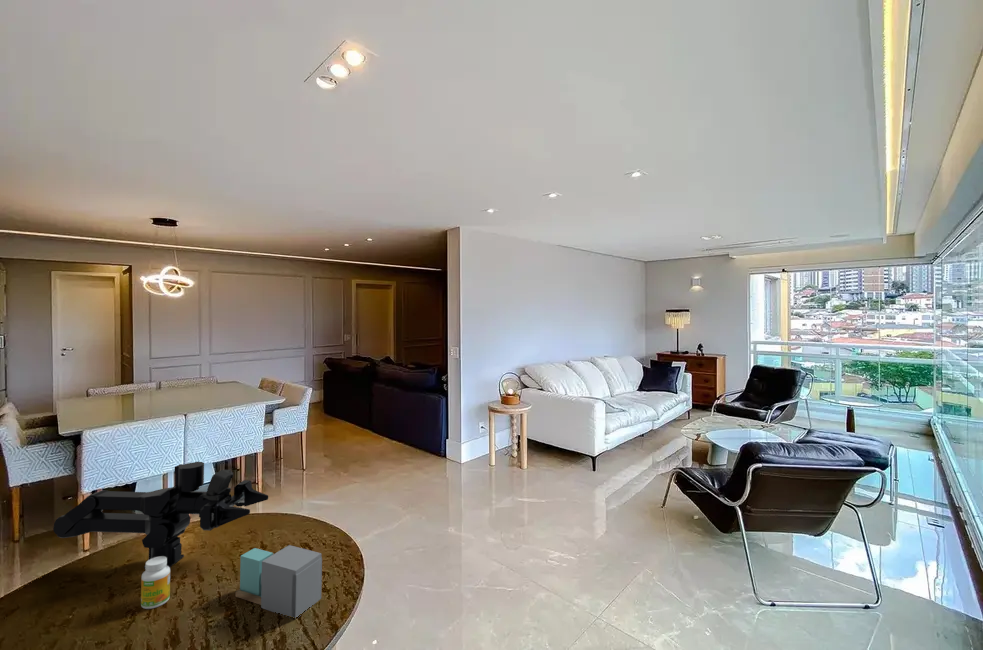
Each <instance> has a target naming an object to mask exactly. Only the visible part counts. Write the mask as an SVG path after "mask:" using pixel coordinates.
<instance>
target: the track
mask: <svg viewBox="0 0 983 650" xmlns="http://www.w3.org/2000/svg"><path fill="white" fill-rule="evenodd" d="M235 597H236V598H239V599H242V600H244V601H248V602H251V603H254V604H257V605H260V606H261V597H260V596H257V595H254V594H251V593H247V592H244V591H241V590H240V589H238V590H236V591H235Z"/></svg>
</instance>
